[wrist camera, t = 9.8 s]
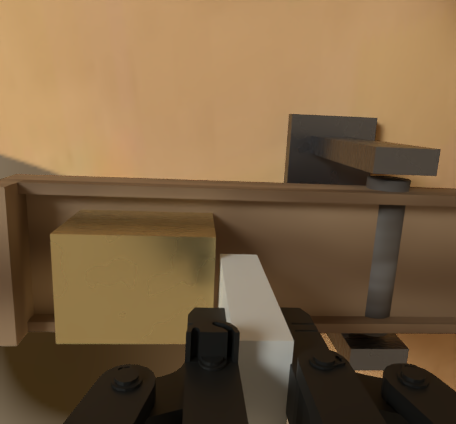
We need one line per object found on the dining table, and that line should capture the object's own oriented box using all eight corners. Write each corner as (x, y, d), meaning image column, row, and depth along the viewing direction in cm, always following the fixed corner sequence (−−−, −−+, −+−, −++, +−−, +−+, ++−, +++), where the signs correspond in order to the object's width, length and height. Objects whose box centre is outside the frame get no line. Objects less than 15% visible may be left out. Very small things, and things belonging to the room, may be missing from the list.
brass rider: (80, 209, 19) (50, 233, 15) (212, 213, 19) (215, 237, 15) (84, 298, 20) (55, 344, 16) (209, 300, 20) (211, 344, 16)
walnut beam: (17, 163, 20) (-54, 181, 14) (696, 186, 23) (860, 210, 17) (28, 315, 22) (-32, 385, 16) (656, 320, 24) (792, 380, 19)
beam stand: (289, 114, 29) (346, 112, 18) (371, 117, 29) (477, 119, 18) (275, 297, 32) (316, 394, 21) (349, 298, 33) (429, 394, 21)
